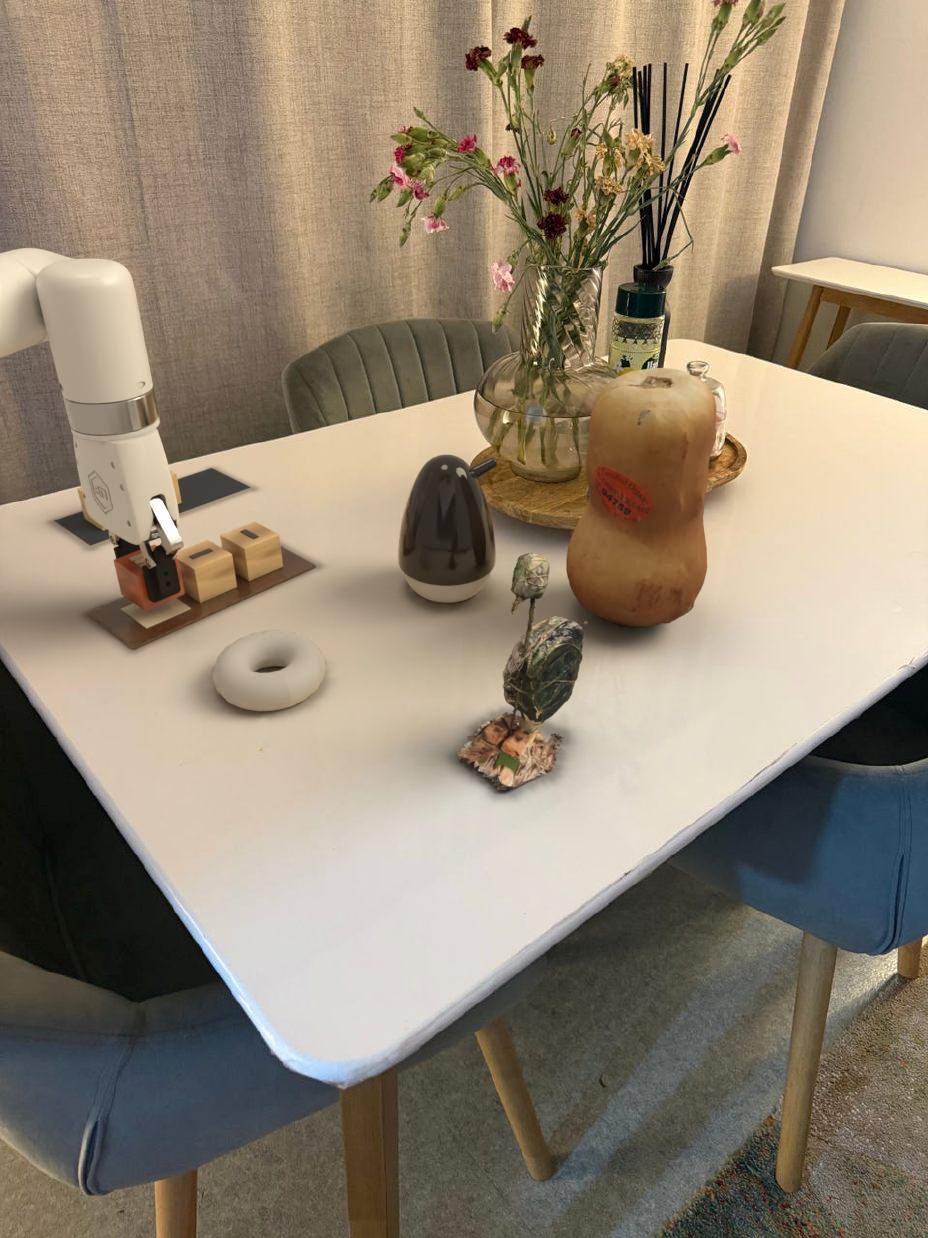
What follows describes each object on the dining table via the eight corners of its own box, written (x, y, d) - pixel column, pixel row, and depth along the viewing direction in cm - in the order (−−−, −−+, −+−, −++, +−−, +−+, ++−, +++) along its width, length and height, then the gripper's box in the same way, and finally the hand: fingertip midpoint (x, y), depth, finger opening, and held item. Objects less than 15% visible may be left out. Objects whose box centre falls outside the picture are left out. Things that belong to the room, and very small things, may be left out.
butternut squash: (536, 622, 89) (551, 377, 76) (602, 570, 98) (627, 343, 85) (660, 672, 82) (702, 413, 69) (720, 611, 91) (767, 371, 78)
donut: (279, 641, 86) (192, 687, 80) (276, 611, 85) (186, 655, 78) (349, 682, 81) (262, 735, 75) (348, 651, 79) (258, 702, 73)
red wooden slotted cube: (121, 594, 89) (112, 558, 87) (161, 578, 92) (154, 543, 89) (144, 611, 86) (136, 574, 84) (185, 593, 89) (178, 558, 87)
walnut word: (89, 616, 90) (78, 576, 87) (267, 542, 103) (262, 506, 101) (135, 652, 85) (125, 610, 82) (316, 569, 98) (312, 531, 95)
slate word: (55, 524, 106) (45, 488, 104) (212, 471, 120) (207, 438, 117) (91, 549, 101) (82, 512, 99) (251, 491, 115) (247, 457, 112)
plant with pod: (605, 749, 73) (632, 534, 62) (495, 805, 68) (504, 580, 57) (543, 699, 79) (558, 494, 68) (437, 747, 73) (434, 532, 63)
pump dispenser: (511, 605, 92) (517, 469, 84) (415, 623, 89) (412, 484, 81) (476, 559, 100) (478, 431, 92) (388, 575, 97) (381, 444, 89)
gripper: (28, 398, 81) (75, 571, 91) (122, 447, 71) (163, 635, 81) (105, 379, 86) (141, 546, 96) (203, 423, 76) (232, 604, 86)
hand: (151, 585), depth 88 cm, fingers closed on red wooden slotted cube, 4 cm apart
